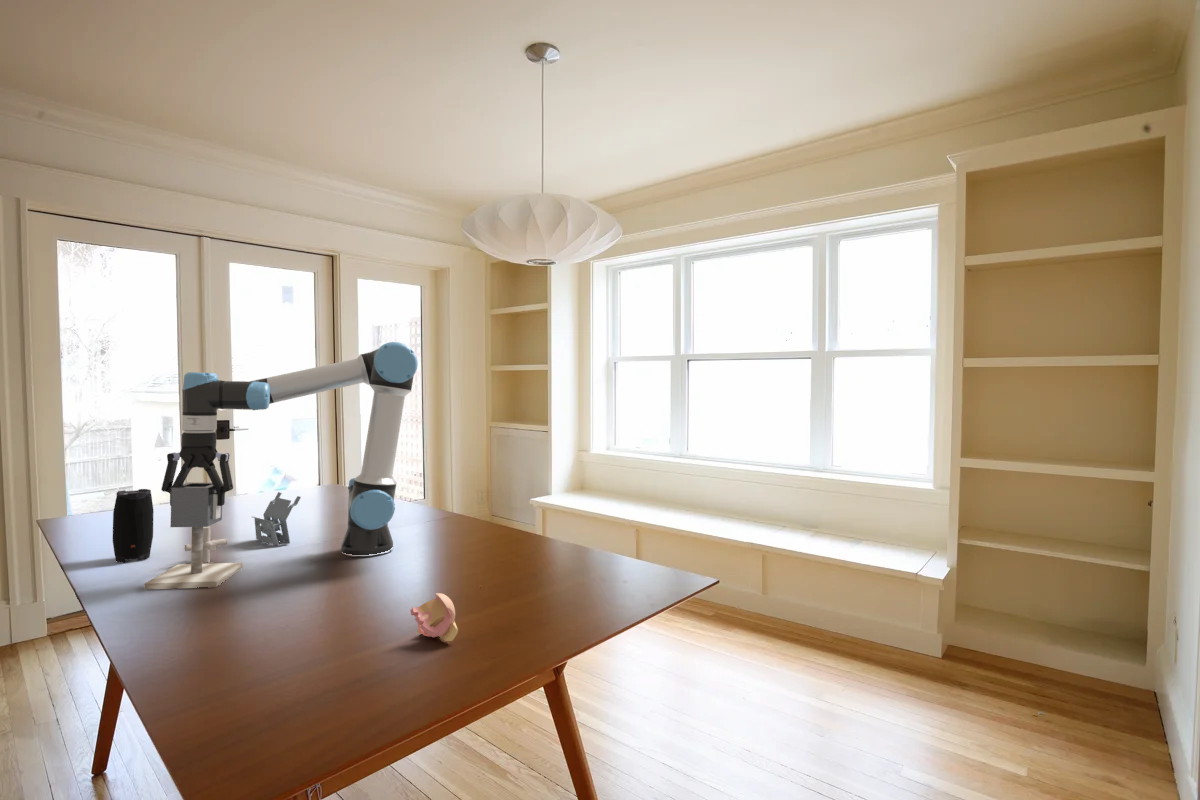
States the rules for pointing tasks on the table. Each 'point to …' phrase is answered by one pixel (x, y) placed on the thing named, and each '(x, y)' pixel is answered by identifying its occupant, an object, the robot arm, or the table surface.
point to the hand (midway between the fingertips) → (197, 518)
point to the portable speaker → (133, 525)
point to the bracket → (275, 521)
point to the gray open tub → (193, 505)
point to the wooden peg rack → (207, 544)
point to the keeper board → (194, 579)
